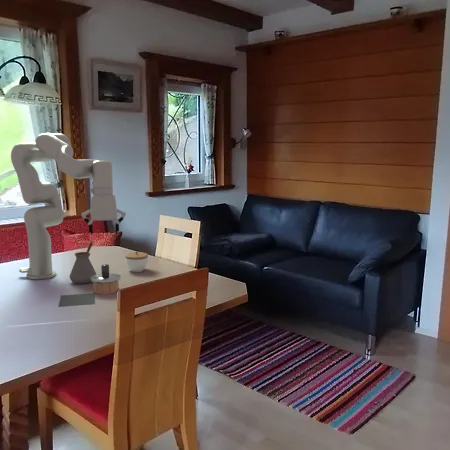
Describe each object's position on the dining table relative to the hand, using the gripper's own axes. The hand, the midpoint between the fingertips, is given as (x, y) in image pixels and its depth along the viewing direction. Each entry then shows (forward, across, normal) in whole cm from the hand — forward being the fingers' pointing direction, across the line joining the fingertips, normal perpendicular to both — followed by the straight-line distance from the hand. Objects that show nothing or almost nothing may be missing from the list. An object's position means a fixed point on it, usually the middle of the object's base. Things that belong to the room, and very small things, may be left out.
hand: (104, 233), depth 184 cm
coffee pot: (+24, -8, +19) cm, 32 cm away
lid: (+19, 0, 0) cm, 19 cm away
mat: (+24, -11, -10) cm, 28 cm away
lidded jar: (+24, +15, +28) cm, 40 cm away
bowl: (+24, 0, 0) cm, 24 cm away
